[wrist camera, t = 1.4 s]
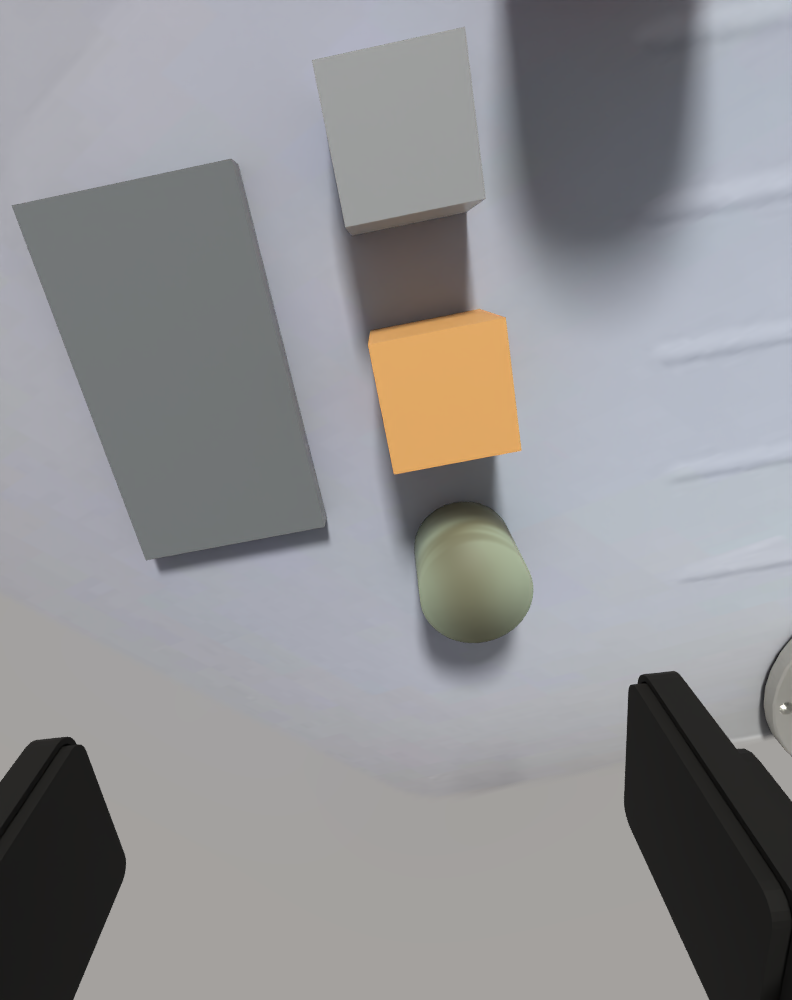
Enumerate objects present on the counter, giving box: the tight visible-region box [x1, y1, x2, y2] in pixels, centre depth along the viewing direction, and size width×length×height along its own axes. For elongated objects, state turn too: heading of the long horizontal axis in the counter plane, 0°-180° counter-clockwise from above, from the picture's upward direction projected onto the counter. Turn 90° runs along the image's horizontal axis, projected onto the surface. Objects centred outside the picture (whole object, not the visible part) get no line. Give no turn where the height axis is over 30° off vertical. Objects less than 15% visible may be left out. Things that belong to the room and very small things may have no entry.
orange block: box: [368, 309, 521, 474], centre depth 25 cm, size 5×5×6 cm
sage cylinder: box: [414, 502, 533, 643], centre depth 29 cm, size 5×5×5 cm
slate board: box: [12, 159, 327, 560], centre depth 27 cm, size 9×16×1 cm, turn 11°
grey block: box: [312, 27, 486, 236], centre depth 22 cm, size 5×5×5 cm
